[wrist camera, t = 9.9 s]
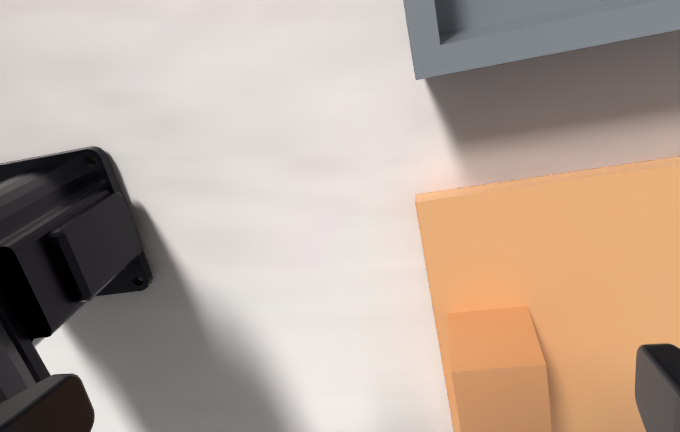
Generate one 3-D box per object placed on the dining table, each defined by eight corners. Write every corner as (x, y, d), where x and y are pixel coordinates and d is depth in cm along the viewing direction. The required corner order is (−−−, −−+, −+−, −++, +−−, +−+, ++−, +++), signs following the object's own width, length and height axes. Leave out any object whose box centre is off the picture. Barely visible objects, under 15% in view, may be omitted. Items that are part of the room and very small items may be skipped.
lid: (462, 464, 26) (470, 572, 21) (415, 185, 21) (413, 244, 16) (806, 450, 23) (906, 572, 18) (851, 120, 18) (1008, 169, 13)
